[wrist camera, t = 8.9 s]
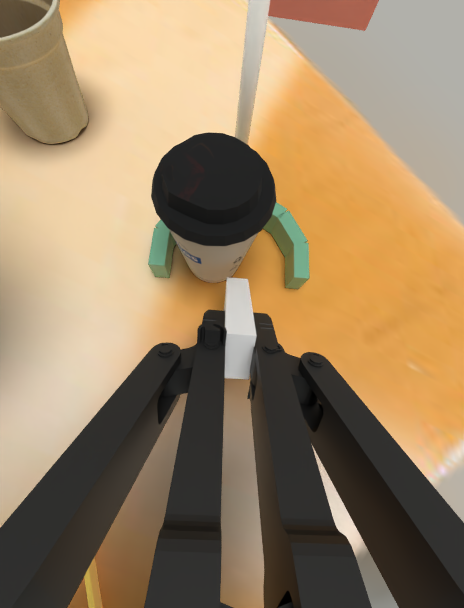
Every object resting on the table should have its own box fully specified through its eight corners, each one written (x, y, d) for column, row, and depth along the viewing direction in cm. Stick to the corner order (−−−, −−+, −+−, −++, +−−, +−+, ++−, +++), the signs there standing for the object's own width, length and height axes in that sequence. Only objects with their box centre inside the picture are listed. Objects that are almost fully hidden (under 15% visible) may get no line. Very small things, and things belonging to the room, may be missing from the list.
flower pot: (70, 72, 27) (7, -64, 18) (126, 126, 25) (85, 6, 17) (-15, 113, 24) (-130, -20, 16) (42, 175, 23) (-53, 64, 15)
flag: (228, 198, 24) (266, -173, 8) (229, 189, 24) (267, -187, 8) (288, 205, 24) (444, -138, 8) (288, 196, 25) (439, -152, 8)
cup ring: (155, 276, 21) (148, 264, 19) (167, 199, 23) (162, 179, 21) (298, 289, 22) (309, 278, 20) (297, 213, 24) (307, 195, 22)
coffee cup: (244, 220, 24) (268, 113, 14) (259, 290, 22) (298, 222, 12) (169, 228, 23) (138, 120, 13) (178, 301, 21) (150, 238, 11)
